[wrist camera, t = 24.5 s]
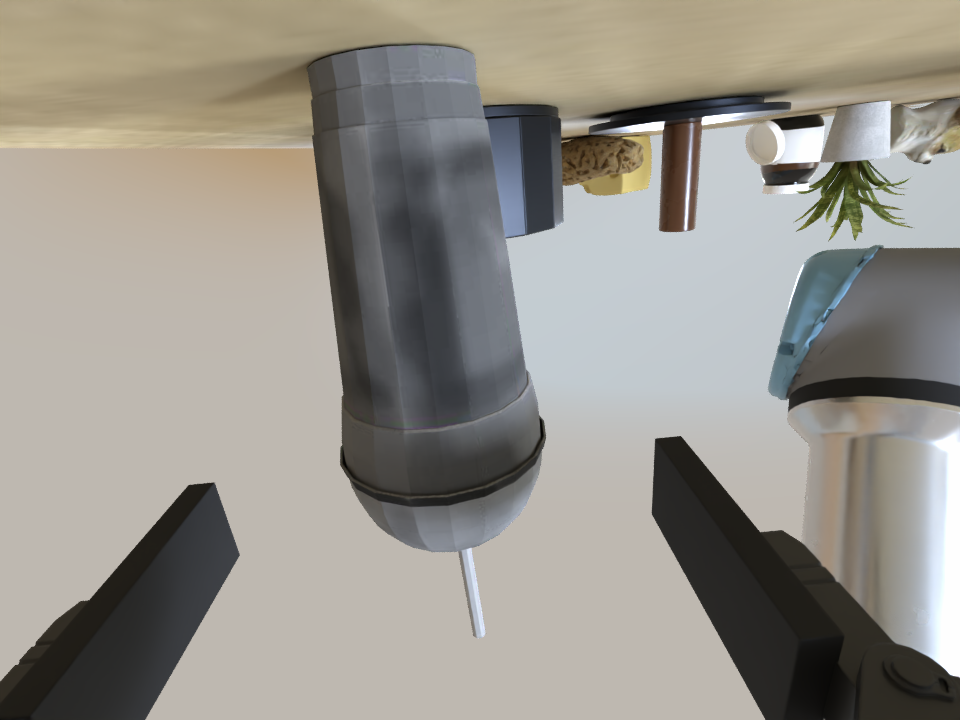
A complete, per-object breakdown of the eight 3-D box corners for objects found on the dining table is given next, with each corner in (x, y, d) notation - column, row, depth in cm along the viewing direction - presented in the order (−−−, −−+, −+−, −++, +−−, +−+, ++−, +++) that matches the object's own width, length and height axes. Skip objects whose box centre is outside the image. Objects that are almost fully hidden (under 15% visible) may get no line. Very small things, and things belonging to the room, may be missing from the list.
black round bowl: (581, 95, 24) (583, 232, 26) (540, 120, 36) (544, 212, 39) (307, 123, 24) (334, 257, 26) (360, 139, 36) (375, 228, 39)
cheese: (574, 142, 94) (575, 196, 97) (625, 135, 86) (624, 195, 90) (604, 140, 100) (604, 191, 104) (654, 134, 93) (652, 189, 96)
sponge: (528, 137, 83) (649, 151, 77) (520, 185, 85) (637, 202, 79) (507, 117, 71) (648, 132, 65) (497, 173, 73) (634, 193, 67)
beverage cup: (249, 94, 15) (365, 584, 22) (246, 26, 9) (408, 738, 16) (465, 86, 18) (506, 529, 25) (583, 28, 11) (592, 644, 19)
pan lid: (842, 83, 31) (819, 231, 34) (728, 109, 44) (719, 213, 47) (618, 106, 31) (617, 251, 34) (571, 124, 44) (574, 228, 47)
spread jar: (808, 117, 84) (798, 188, 88) (737, 124, 87) (730, 193, 91) (840, 111, 73) (827, 192, 78) (758, 120, 76) (749, 198, 80)
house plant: (949, 95, 60) (918, 231, 66) (815, 112, 69) (798, 231, 75) (946, 91, 50) (910, 251, 56) (791, 111, 59) (774, 247, 65)
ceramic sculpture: (877, 173, 71) (1019, 156, 64) (885, 107, 68) (1035, 82, 61) (858, 169, 79) (981, 154, 73) (864, 110, 76) (993, 89, 70)
